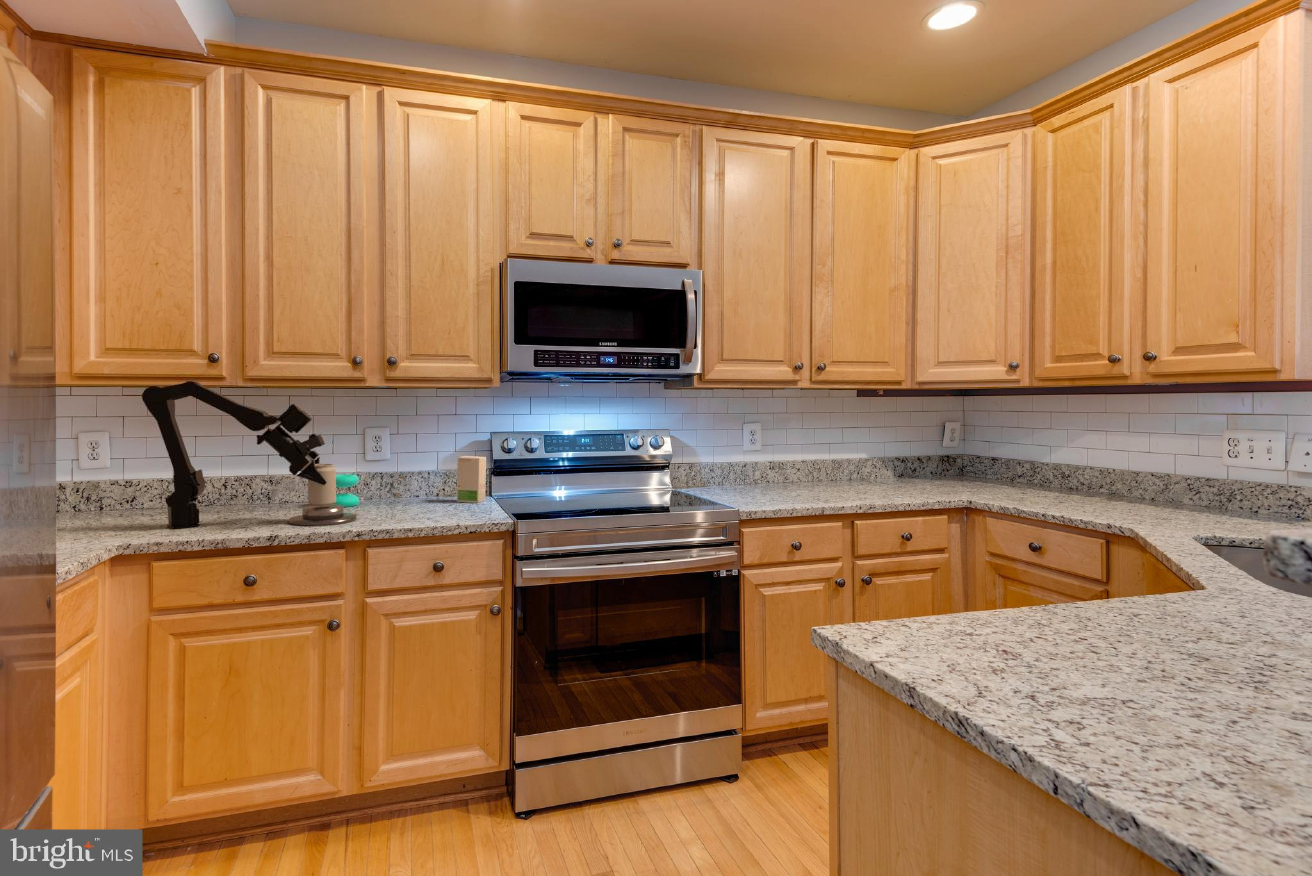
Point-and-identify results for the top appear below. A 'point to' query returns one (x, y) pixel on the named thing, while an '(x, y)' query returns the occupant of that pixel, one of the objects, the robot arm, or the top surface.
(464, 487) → the skincare box
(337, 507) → the duct stub
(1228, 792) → the top surface
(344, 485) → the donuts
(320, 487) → the can
